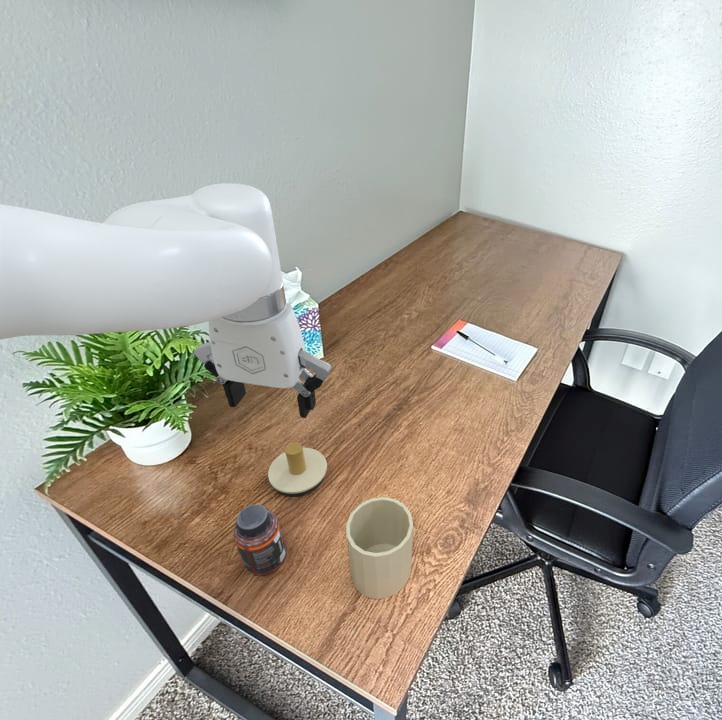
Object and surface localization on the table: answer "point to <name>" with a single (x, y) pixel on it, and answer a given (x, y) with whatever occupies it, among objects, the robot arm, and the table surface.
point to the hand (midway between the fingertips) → (272, 405)
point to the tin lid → (297, 469)
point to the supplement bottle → (259, 540)
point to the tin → (380, 547)
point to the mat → (301, 492)
